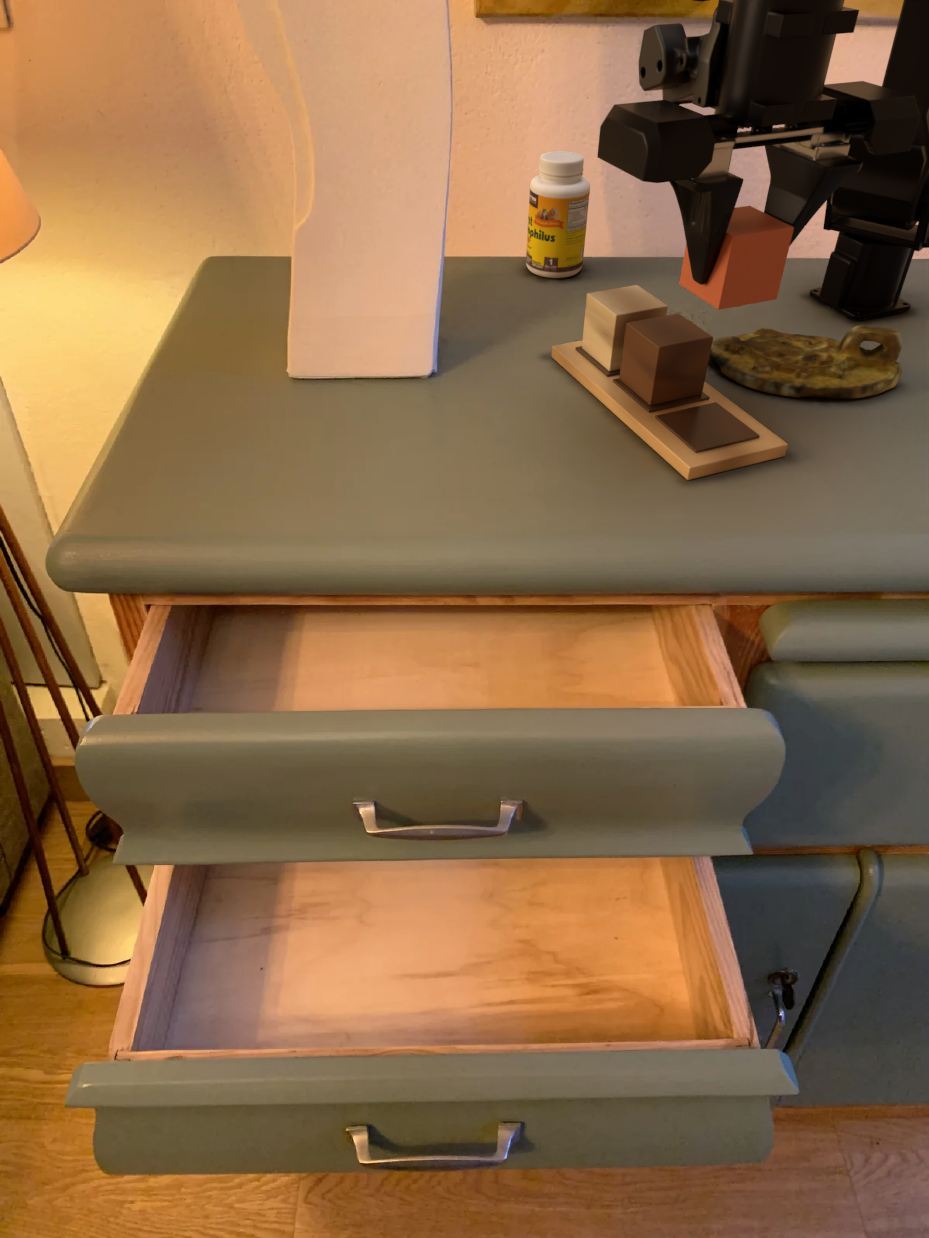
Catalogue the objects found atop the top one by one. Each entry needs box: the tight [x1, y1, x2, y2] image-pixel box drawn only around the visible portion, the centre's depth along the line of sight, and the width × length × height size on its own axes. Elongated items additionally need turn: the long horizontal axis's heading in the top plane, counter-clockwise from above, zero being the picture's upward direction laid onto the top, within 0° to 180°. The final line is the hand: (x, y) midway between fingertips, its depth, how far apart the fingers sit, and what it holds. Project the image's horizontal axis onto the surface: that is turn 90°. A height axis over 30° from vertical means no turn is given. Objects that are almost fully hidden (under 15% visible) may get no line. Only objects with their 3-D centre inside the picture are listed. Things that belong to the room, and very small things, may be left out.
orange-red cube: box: [679, 205, 794, 310], centre depth 57 cm, size 4×4×4 cm
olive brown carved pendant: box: [709, 324, 903, 400], centre depth 70 cm, size 9×5×15 cm
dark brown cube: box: [619, 312, 714, 405], centre depth 65 cm, size 4×4×4 cm
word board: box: [551, 284, 789, 481], centre depth 66 cm, size 8×20×6 cm, turn 23°
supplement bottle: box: [525, 150, 591, 279], centre depth 84 cm, size 6×6×10 cm
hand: (731, 277), depth 57 cm, fingers closed on orange-red cube, 4 cm apart
